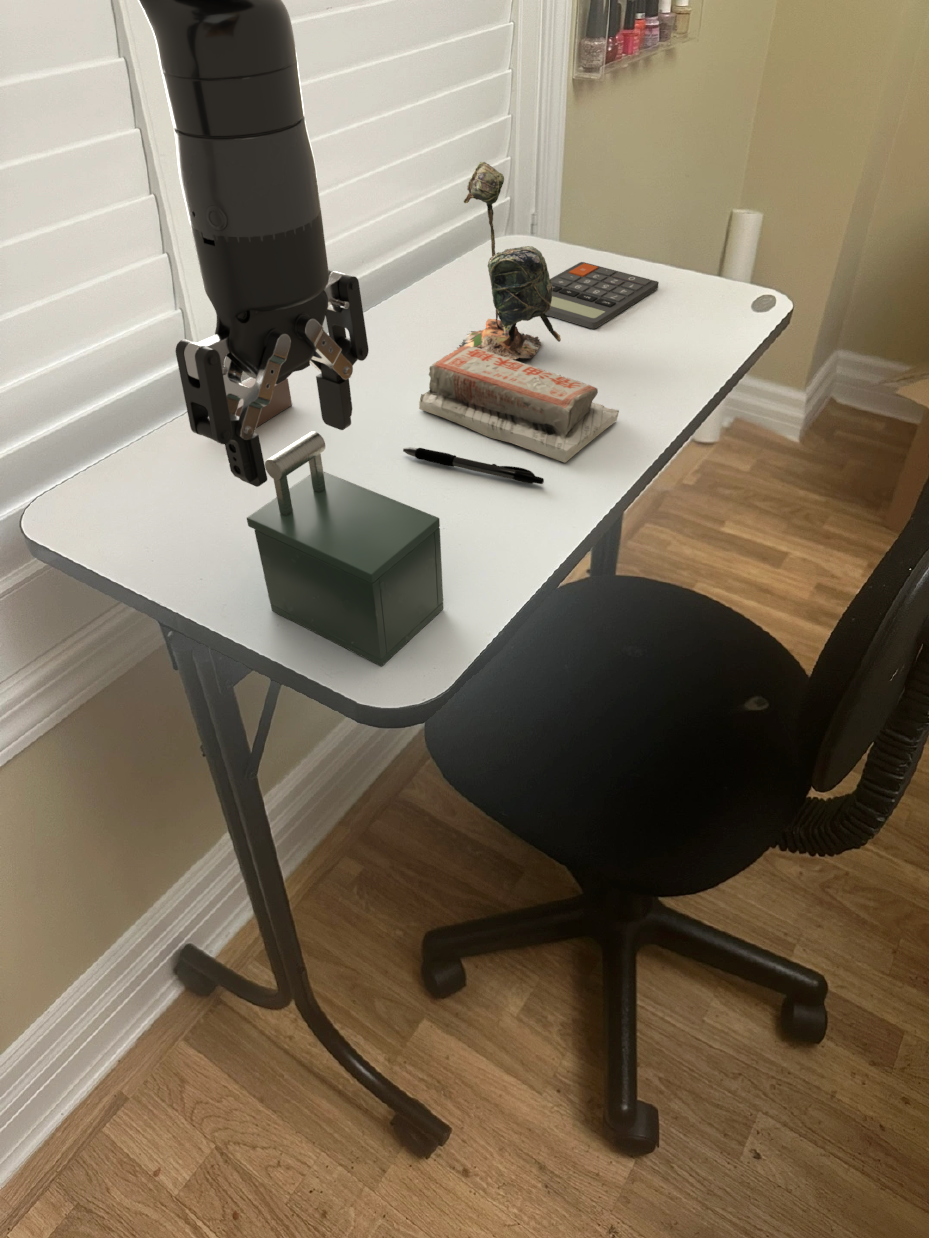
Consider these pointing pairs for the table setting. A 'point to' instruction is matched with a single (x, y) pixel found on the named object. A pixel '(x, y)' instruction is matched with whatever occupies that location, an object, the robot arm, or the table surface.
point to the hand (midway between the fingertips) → (296, 452)
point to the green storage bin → (355, 596)
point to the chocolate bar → (277, 403)
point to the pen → (475, 465)
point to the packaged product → (515, 402)
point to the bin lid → (337, 515)
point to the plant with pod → (510, 283)
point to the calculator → (595, 294)
